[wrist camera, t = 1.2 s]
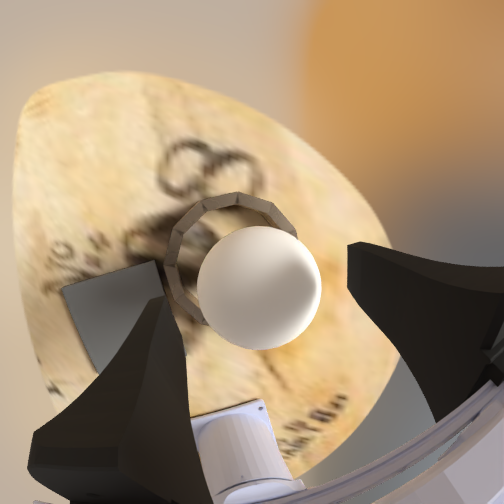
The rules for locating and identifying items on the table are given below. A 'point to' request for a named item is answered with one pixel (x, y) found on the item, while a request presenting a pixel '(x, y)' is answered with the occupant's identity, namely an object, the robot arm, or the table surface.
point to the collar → (190, 218)
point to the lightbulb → (259, 287)
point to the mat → (111, 307)
